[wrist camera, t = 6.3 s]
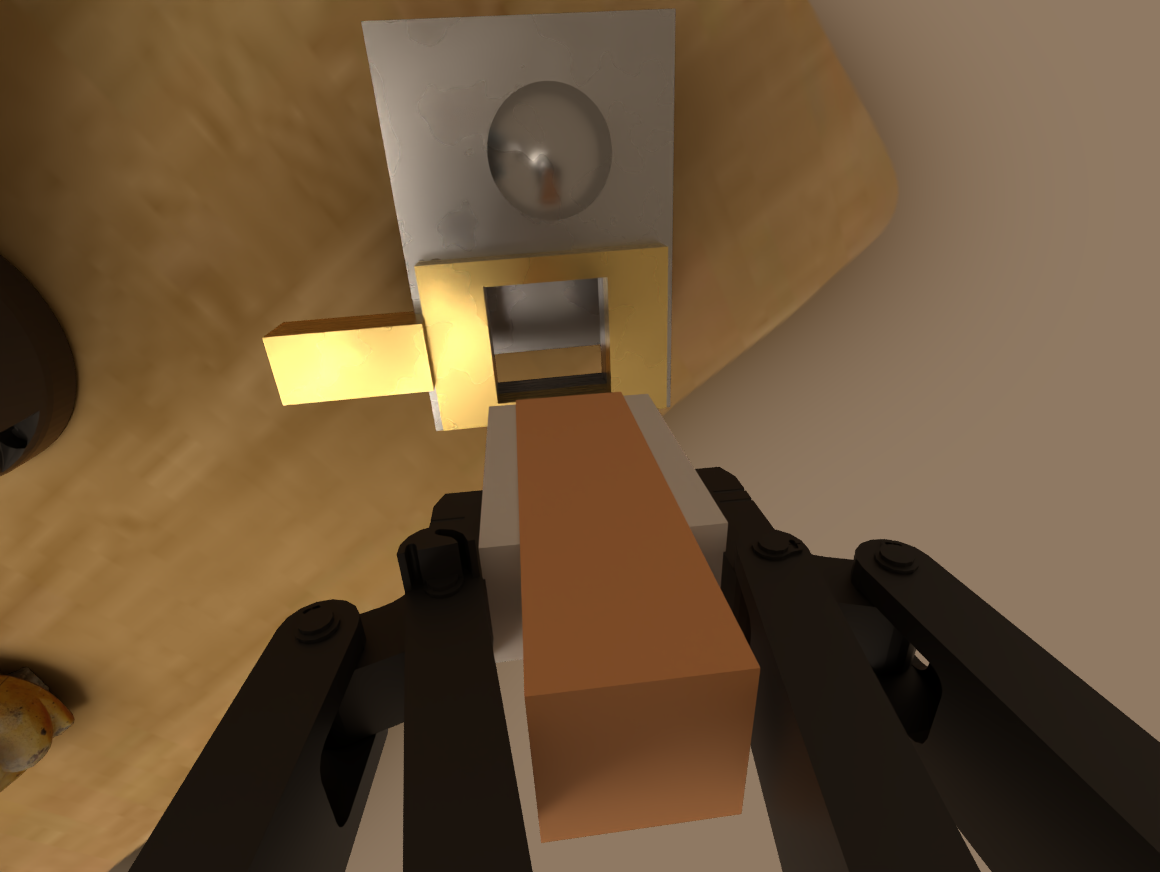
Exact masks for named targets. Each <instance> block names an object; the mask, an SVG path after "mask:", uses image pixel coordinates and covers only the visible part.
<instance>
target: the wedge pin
mask: <svg viewBox="0 0 1160 872" xmlns="http://www.w3.org/2000/svg"><path fill="white" fill-rule="evenodd" d="M516 432H517V465H518V498H519V531H520V564H521V597H522V630H523V661H524V692H525V693H524V695H525V705H526V714H527V723H528V731H529V739H530V749H531V757H532V766H533V775H534V783H535V791H536V800H537V809H538V818H539V826H540V835H541V843H545V842H551V841H558V840H565V839H572V838H579V837H586V836H593V835H600V834H607V833H613V832H620V831H627V830H634V829H640V828H648V827H655V826H662V825H669V824H676V823H683V822H690V821H696V820H703V819H710V818H717V817H723V816H731V815H738V814H741V813H742V806H743V798H744V789H745V783H746V775H747V767H748V760H749V752H750V744H751V737H752V729H753V721H754V714H755V706H756V698H757V691H758V683H759V675H760V666H759V664H758V662H757V660H756V658H755V656H754V654H753V652H752V650H751V648H750V646H749V644H748V642H747V640H746V638H745V636H744V634H743V632H742V630H741V628H740V626H739V624H738V622H737V620H736V618H735V616H734V614H733V612H732V610H731V608H730V607H729V605H728V603H727V601H726V599H725V597H724V595H723V593H722V591H721V589H720V587H719V585H718V583H717V581H716V579H715V577H714V575H713V573H712V571H711V569H710V567H709V565H708V563H707V561H706V559H705V557H704V555H703V553H702V551H701V549H700V547H699V545H698V543H697V541H696V539H695V537H694V535H693V533H692V531H691V529H690V527H689V525H688V523H687V521H686V519H685V517H684V515H683V513H682V511H681V509H680V507H679V505H678V503H677V501H676V499H675V497H674V495H673V493H672V492H671V490H670V488H669V486H668V484H667V482H666V480H665V478H664V476H663V474H662V472H661V470H660V468H659V466H658V464H657V462H656V460H655V458H654V456H653V454H652V452H651V450H650V448H649V446H648V444H647V442H646V440H645V438H644V436H643V434H642V432H641V430H640V428H639V426H638V424H637V422H636V420H635V418H634V416H633V414H632V412H631V410H630V408H629V406H628V404H627V402H626V400H625V398H624V396H623V394H622V392H611V393H598V394H585V395H573V396H560V397H547V398H535V399H522V400H516Z"/></svg>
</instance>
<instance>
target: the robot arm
mask: <svg viewBox="0 0 1160 872" xmlns="http://www.w3.org/2000/svg"><path fill="white" fill-rule="evenodd" d="M75 396H76V373H75V366H74V361H73V357H72V353H71V350H70V347H69V344H68V342H67V339H66V337H65V335H64V332H63V330H62V328H61V326H60V324H59V323H58V321H57V319H56V317H55V316H54V314H53V312H52V311H51V309H50V308H49V307H48V305H47V304H46V302H45V301H44V300H43V298H42V297H41V296H40V294H39V293H38V292H37V291H36V289H35V288H34V287H33V286H32V285H31V284H30V282H29V281H28V280H27V279H26V278H25V277H24V276H23V275H22V274H21V273H20V272H19V271H18V270H17V269H16V268H15V267H14V266H12V265H11V264H10V263H9V262H8V261H7V260H6V259H4V258H3V257H2V256H1V255H0V476H2V475H4V474H6V473H8V472H10V471H12V470H13V469H15V468H17V467H18V466H20V465H22V464H23V463H25V462H26V461H28V460H30V459H31V458H33V457H34V456H36V455H38V454H39V453H41V452H42V451H43V450H45V449H46V448H47V447H48V446H50V445H51V444H52V443H53V442H54V441H55V440H56V439H57V438H58V436H59V435H60V434H61V432H62V431H63V429H64V428H65V426H66V425H67V423H68V420H69V418H70V416H71V413H72V410H73V407H74V402H75ZM624 398H625V400H626V402H627V404H628V406H629V408H630V410H631V412H632V414H633V416H634V418H635V420H636V422H637V424H638V426H639V428H640V430H641V432H642V434H643V436H644V438H645V440H646V442H647V444H648V446H649V448H650V450H651V452H652V454H653V456H654V458H655V460H656V462H657V464H658V466H659V468H660V470H661V472H662V474H663V476H664V478H665V480H666V482H667V484H668V486H669V488H670V490H671V492H672V493H673V495H674V497H675V499H676V501H677V503H678V505H679V507H680V509H681V511H682V513H683V515H684V517H685V519H686V521H687V523H688V525H689V527H690V529H691V531H692V533H693V535H694V537H695V539H696V541H697V543H698V545H699V547H700V549H701V551H702V553H703V555H704V557H705V559H706V561H707V563H708V565H709V567H710V569H711V571H712V573H713V575H714V577H715V579H716V581H717V583H718V585H719V587H720V589H721V591H722V593H723V595H724V597H725V599H726V601H727V603H728V605H729V607H730V608H731V610H732V612H733V614H734V616H735V618H736V620H737V622H738V624H739V626H740V628H741V630H742V632H743V634H744V636H745V638H746V640H747V642H748V644H749V646H750V648H751V650H752V652H753V654H754V656H755V658H756V660H757V662H758V664H759V666H760V675H759V683H758V691H757V698H756V706H755V714H754V721H753V729H752V737H751V744H750V745H751V749H752V753H753V756H754V761H755V765H756V768H757V773H758V776H759V780H760V784H761V788H762V792H763V796H764V800H765V804H766V807H767V812H768V816H769V820H770V824H771V828H772V832H773V836H774V839H775V843H776V847H777V851H778V855H779V859H780V863H781V867H782V871H783V872H981V871H980V870H979V868H978V866H977V864H976V862H975V860H974V858H973V856H972V855H971V853H970V851H969V849H968V847H967V845H966V843H965V841H964V840H963V838H962V836H961V834H960V832H959V830H960V831H961V832H962V834H963V835H964V836H965V838H966V839H967V840H968V842H969V843H970V844H971V846H972V847H973V848H974V849H975V851H976V852H977V853H978V855H979V856H980V857H981V858H982V860H983V861H984V862H985V864H986V865H987V866H988V868H989V869H990V870H991V871H992V872H1160V742H1159V741H1157V740H1156V739H1155V738H1154V737H1152V736H1151V735H1150V734H1149V733H1147V732H1146V731H1145V730H1143V729H1142V728H1141V727H1140V726H1139V725H1138V724H1136V723H1135V722H1134V721H1133V720H1131V719H1130V718H1129V717H1128V716H1126V715H1125V714H1124V713H1123V712H1121V711H1120V710H1119V709H1118V708H1117V707H1115V706H1114V705H1113V704H1112V703H1110V702H1109V701H1108V700H1107V699H1105V698H1104V697H1103V696H1102V695H1100V694H1099V693H1098V692H1097V691H1095V690H1094V689H1093V688H1092V687H1090V686H1089V685H1088V684H1087V683H1086V682H1084V681H1083V680H1082V679H1081V678H1079V677H1078V676H1077V675H1075V674H1074V673H1073V672H1072V671H1071V670H1069V669H1068V668H1067V667H1066V666H1064V665H1063V664H1062V663H1061V662H1059V661H1058V660H1057V659H1056V658H1054V657H1053V656H1052V655H1051V654H1050V653H1048V652H1047V651H1046V650H1045V649H1043V648H1042V647H1041V646H1040V645H1038V644H1037V643H1036V642H1035V641H1033V640H1032V639H1031V638H1030V637H1028V636H1027V635H1026V634H1025V633H1024V632H1022V631H1021V630H1020V629H1018V628H1017V627H1016V626H1015V625H1014V624H1012V623H1011V622H1010V621H1009V620H1007V619H1006V618H1005V617H1004V616H1002V615H1001V614H1000V613H999V612H997V611H996V610H995V609H994V608H992V607H991V606H990V605H989V604H988V603H986V602H985V601H984V600H982V599H981V598H980V597H979V596H978V595H976V594H975V593H974V592H973V591H971V590H970V589H969V588H968V587H967V586H965V585H964V584H963V583H962V582H960V581H959V580H958V579H957V578H955V577H954V576H953V575H952V574H950V573H949V572H948V571H947V570H945V569H944V568H943V567H942V566H940V565H939V564H938V563H937V562H936V561H934V560H933V559H932V558H931V557H929V556H928V555H927V554H925V553H923V552H922V551H920V550H919V549H917V548H915V547H912V546H910V545H907V544H904V543H902V542H899V541H892V540H885V539H878V540H869V541H866V542H863V543H861V544H860V545H859V546H858V548H857V549H856V550H855V555H854V560H849V559H839V558H831V557H823V556H817V555H812V554H811V553H810V551H809V549H808V548H807V546H806V545H805V544H804V543H803V542H802V541H801V540H800V539H798V538H796V537H794V536H793V535H791V534H788V533H785V532H782V531H779V530H775V529H774V528H773V527H772V525H771V524H770V523H769V521H768V520H767V519H766V517H765V516H764V515H763V513H762V512H761V510H760V509H759V508H758V506H757V505H756V504H755V502H754V501H753V500H751V497H750V496H749V494H748V493H747V491H744V487H743V486H742V485H741V483H740V482H739V481H738V479H737V478H736V477H735V476H734V475H732V474H731V473H729V472H727V471H725V470H724V469H722V468H720V467H714V468H713V467H712V468H702V469H694V467H693V466H692V464H691V462H690V461H689V459H688V457H687V456H686V454H685V453H684V451H683V449H682V448H681V446H680V445H679V443H678V441H677V440H676V438H675V437H674V435H673V433H672V432H671V430H670V428H669V427H668V425H667V424H666V422H665V420H664V419H663V417H662V416H661V414H660V412H659V411H658V409H657V407H656V406H655V404H654V403H653V401H652V399H651V398H650V396H649V395H648V394H639V395H626V396H624ZM397 558H398V562H399V567H400V571H401V576H402V581H403V585H404V590H405V595H404V596H402V597H401V598H399V599H397V600H396V601H394V602H392V603H390V604H387V605H385V606H382V607H380V608H377V609H374V610H371V611H368V612H365V613H362V614H359V612H358V610H357V608H356V606H355V605H353V604H351V603H349V602H347V601H344V600H334V599H332V600H326V601H320V602H316V603H313V604H311V605H308V606H306V607H303V608H301V609H299V610H298V611H296V612H295V613H294V614H292V615H291V616H289V617H288V618H287V619H286V620H285V621H284V622H283V623H282V624H281V625H280V627H279V628H278V629H277V630H276V632H275V634H274V635H273V637H272V639H271V640H270V642H269V643H268V645H267V647H266V648H265V650H264V652H263V653H262V655H261V656H260V658H259V660H258V661H257V663H256V665H255V666H254V668H253V669H252V671H251V673H250V674H249V676H248V678H247V679H246V681H245V682H244V684H243V686H242V687H241V689H240V691H239V692H238V694H237V695H236V697H235V699H234V700H233V702H232V704H231V705H230V707H229V708H228V710H227V712H226V713H225V715H224V717H223V718H222V720H221V721H220V723H219V725H218V726H217V728H216V730H215V731H214V733H213V734H212V736H211V738H210V739H209V741H208V743H207V744H206V746H205V747H204V749H203V751H202V752H201V754H200V756H199V757H198V759H197V760H196V762H195V764H194V765H193V767H192V769H191V770H190V772H189V773H188V775H187V777H186V778H185V780H184V782H183V783H182V785H181V786H180V788H179V790H178V791H177V793H176V795H175V796H174V798H173V799H172V801H171V803H170V804H169V806H168V808H167V809H166V811H165V812H164V814H163V816H162V817H161V819H160V821H159V822H158V824H157V825H156V827H155V829H154V830H153V832H152V834H151V835H150V837H149V838H148V840H147V842H146V843H145V845H144V847H143V848H142V850H141V852H140V853H139V855H138V856H137V858H136V860H135V861H134V863H133V864H132V866H131V868H130V869H129V871H128V872H345V870H346V866H347V863H348V860H349V857H350V853H351V850H352V847H353V844H354V841H355V837H356V834H357V831H358V828H359V824H360V821H361V818H362V815H363V811H364V808H365V805H366V802H367V798H368V795H369V792H370V789H371V786H372V782H373V779H374V775H375V772H376V769H377V766H378V763H379V760H380V756H381V753H382V750H383V747H384V743H385V740H386V737H387V733H388V728H390V727H393V726H395V725H398V724H400V723H403V722H404V805H403V806H404V808H403V812H404V813H403V872H533V871H532V866H531V860H530V855H529V849H528V843H527V838H526V832H525V827H524V821H523V815H522V809H521V804H520V799H519V793H518V787H517V781H516V776H515V771H514V765H513V759H512V753H511V748H510V742H509V736H508V731H507V725H506V719H505V714H504V708H503V703H502V697H501V692H500V686H499V680H498V675H497V669H496V663H497V662H505V661H514V660H522V659H523V630H522V597H521V564H520V531H519V498H518V465H517V432H516V404H515V405H502V406H490V407H489V413H488V426H487V440H486V453H485V467H484V480H483V490H481V491H471V492H460V493H449V494H445V495H444V496H443V497H442V498H441V499H440V500H439V501H438V502H437V504H436V505H435V506H434V508H433V512H432V517H431V523H430V526H429V528H426V529H423V530H420V531H418V532H416V533H414V534H412V535H411V536H409V537H408V538H407V539H406V540H405V541H404V542H403V543H402V544H401V545H400V546H399V549H398V552H397ZM916 649H917V650H918V651H919V652H920V653H921V654H922V655H923V656H924V657H925V658H926V659H927V660H928V661H929V665H928V666H926V665H925V664H923V663H922V662H921V661H920V660H919V659H918V658H917V657H916V656H915V651H916ZM957 827H958V828H957ZM958 829H959V830H958Z"/></svg>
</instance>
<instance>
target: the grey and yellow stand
mask: <svg viewBox="0 0 1160 872" xmlns="http://www.w3.org/2000/svg"><path fill="white" fill-rule="evenodd" d="M361 23H362V28H363V34H364V39H365V45H366V50H367V55H368V61H369V66H370V72H371V77H372V83H373V88H374V94H375V99H376V105H377V110H378V115H379V121H380V126H381V132H382V137H383V143H384V148H385V154H386V159H387V165H388V170H389V175H390V181H391V186H392V192H393V197H394V203H395V208H396V214H397V219H398V225H399V230H400V235H401V241H402V246H403V252H404V257H405V263H406V268H407V274H408V279H409V285H410V290H411V295H412V301H413V306H414V311H411V312H399V313H387V314H375V315H363V316H351V317H339V318H328V319H316V320H304V321H292V322H283V323H282V324H280V325H279V326H278V327H276V328H275V329H274V330H272V331H271V332H269V333H268V334H267V335H265V336H264V337H263V338H262V339H263V342H264V345H265V348H266V352H267V355H268V358H269V361H270V365H271V368H272V371H273V375H274V378H275V381H276V384H277V388H278V391H279V394H280V397H281V401H282V404H283V405H292V404H302V403H312V402H323V401H333V400H344V399H354V398H364V397H375V396H385V395H396V394H406V393H416V392H427V391H429V394H430V399H431V404H432V410H433V415H434V421H435V426H436V431H439V430H443V431H446V430H455V429H465V428H475V427H485V426H488V413H489V407H490V406H502V405H515V404H516V400H522V399H535V398H547V397H560V396H573V395H585V394H598V393H611V392H622V394H623V396H626V395H639V394H648V395H649V396H650V398H651V399H652V401H653V403H654V404H655V406H656V407H657V409H661V408H667V407H670V384H671V309H672V233H673V157H674V81H675V9H654V10H629V11H604V12H579V13H554V14H529V15H504V16H479V17H454V18H429V19H404V20H379V21H361ZM599 344H601V366H602V373H594V374H584V375H573V376H563V377H552V378H542V379H531V380H521V381H511V382H500V383H498V378H497V370H496V362H495V354H501V353H512V352H523V351H534V350H545V349H555V348H566V347H577V346H588V345H599Z"/></svg>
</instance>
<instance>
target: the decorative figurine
mask: <svg viewBox="0 0 1160 872" xmlns="http://www.w3.org/2000/svg"><path fill="white" fill-rule="evenodd" d="M48 690H49V688H48V687H47V686H46V684H43V681H41V680H40V679H39V678H38V677H37V676H35V675H34V673H33V672H31V671H30V670H29V668H28V667H25V668H22V669H20V670H18V671H16V672H14V673H11V674H7V675H0V792H1V791H2V790H4V789H5V788H6V787H7V786H8V785H10V784H11V783H12V782H13V781H15V780H16V779H17V778H18V777H19V776H21V775H22V774H23V773H24V772H25V771H26V770H27V769H28V768H30V767H32V766H34V765H35V764H37V763H38V762H39V761H40V760H41V759H42V758H43V757H44V756H45V755H46V753H47V752H48V750H49V748H50V747H51V743H52V738H53V737H55V736H58V735H61V734H62V733H63V732H64V731H65V730H66V729H68V728H69V727H70V726H71V725H72V724H73V723H74V716H73V714H72V713H71V711H70V710H69V709H68V708H67V707H66V706H65V705H64V704H63V703H62V702H61V701H60V700H59V699H58V698H57V697H56V696H54V695H53V694H52V693H50V692H49V691H48Z"/></svg>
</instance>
